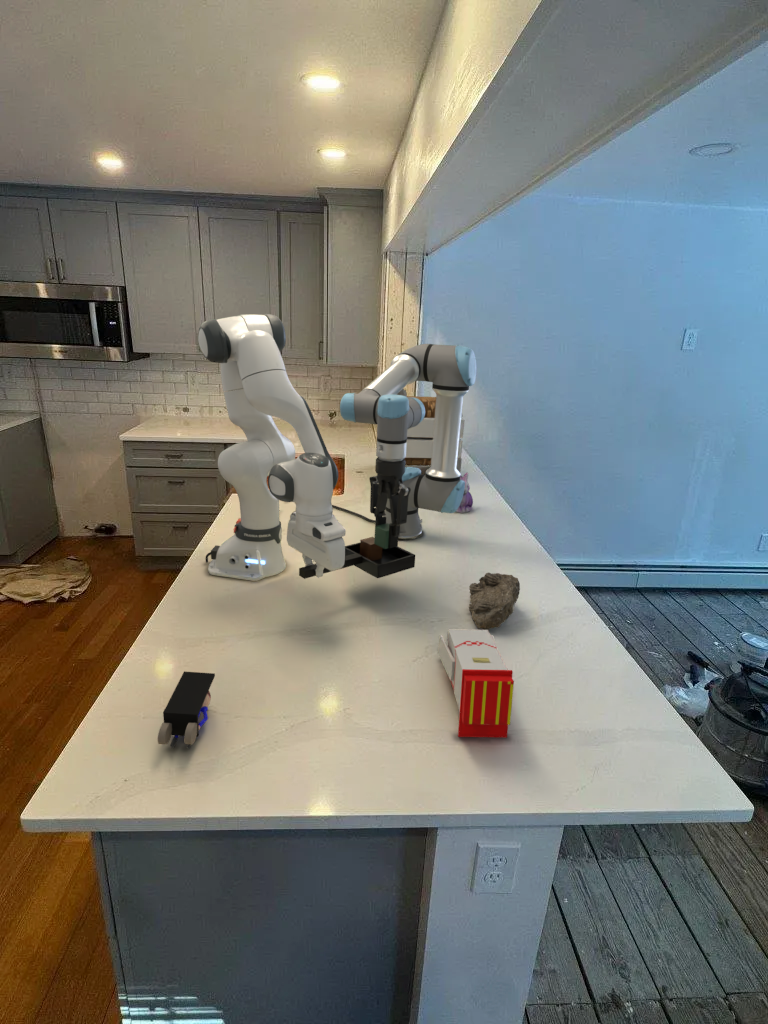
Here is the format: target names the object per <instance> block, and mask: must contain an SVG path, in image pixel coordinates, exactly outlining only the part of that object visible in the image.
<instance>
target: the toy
mask: <svg viewBox="0 0 768 1024" xmlns="http://www.w3.org/2000/svg"><path fill="white" fill-rule="evenodd" d="M446 640H447V643H446V641H445V639H444V636H443V635H442V634H439V637H438V646H437V656H438V657H439V659H440V661H441V663H442V666H443V668H444V670H445V672H446V674H447V677H448V679H449V681H450V684H451V687H452V690H453V693H454V697H455V701H456V705H457V708H458V711H459V714H458V715H459V716H458V730H457V731H458V732H457V737H458V738H508V731H509V726H510V725H511V717H512V707H513V697H514V696H513V695H514V684H515V680H514V679H513V673H514V671H513V670H512V669H508V667H507V665H506V662H505V661H504V659H503V658H502V655H501V653H500V651H499V649H498V647H497V643H496V639H495V637H494V635H493V634H491V632H490V631H489V629H487V630H483V629H467V628H466V629H465V628H463V629H461V628H460V629H459V628H448V630H447V639H446Z"/></svg>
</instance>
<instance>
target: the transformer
mask: <svg viewBox="0 0 768 1024" xmlns="http://www.w3.org/2000/svg"><path fill="white" fill-rule="evenodd" d="M407 394H408V393H407V390H406V389H404V388H403V389H402V390H401V391H400V392H399V393H398V394H397V395H403V396H406V397H410V398H411V397H413V398H417V399H419V400H420V401H421V402H422V403H423V405H424V407H425V416H424V419H423V420H422V421H421V422H420V423H419V424H418V425H417V426H415V427H412V428H409V429H407V445H406V457H405V458H404V459H405V461H406V463H405V466H406V467H417V466H418V467H431V456H432V444H433V431H434V419H435V406H436V396H415V395H414V396H413V395H412V396H411V395H407ZM464 429H465V419H464V418H463V415H462V416H461V426H460V436H459V447H458V457H457V467H456V468H457V470H458V471H459V472H460V475H462V474H461V472H462V461H463V460H462V453H463V442H464V441H463V440H462V439H463V438H464V431H465V430H464Z"/></svg>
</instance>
